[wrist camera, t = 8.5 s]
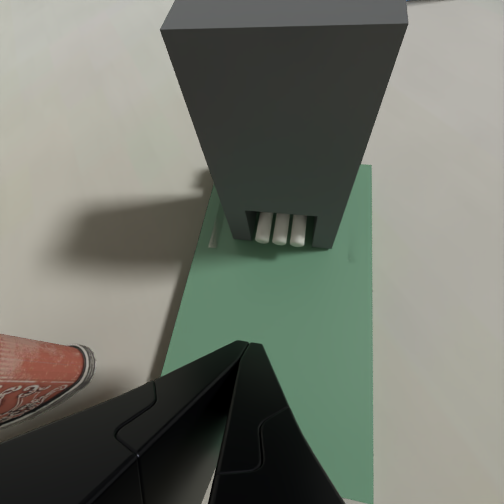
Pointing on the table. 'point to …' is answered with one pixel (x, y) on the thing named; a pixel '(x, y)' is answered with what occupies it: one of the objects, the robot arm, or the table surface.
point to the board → (295, 325)
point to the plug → (284, 99)
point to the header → (281, 229)
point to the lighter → (39, 376)
